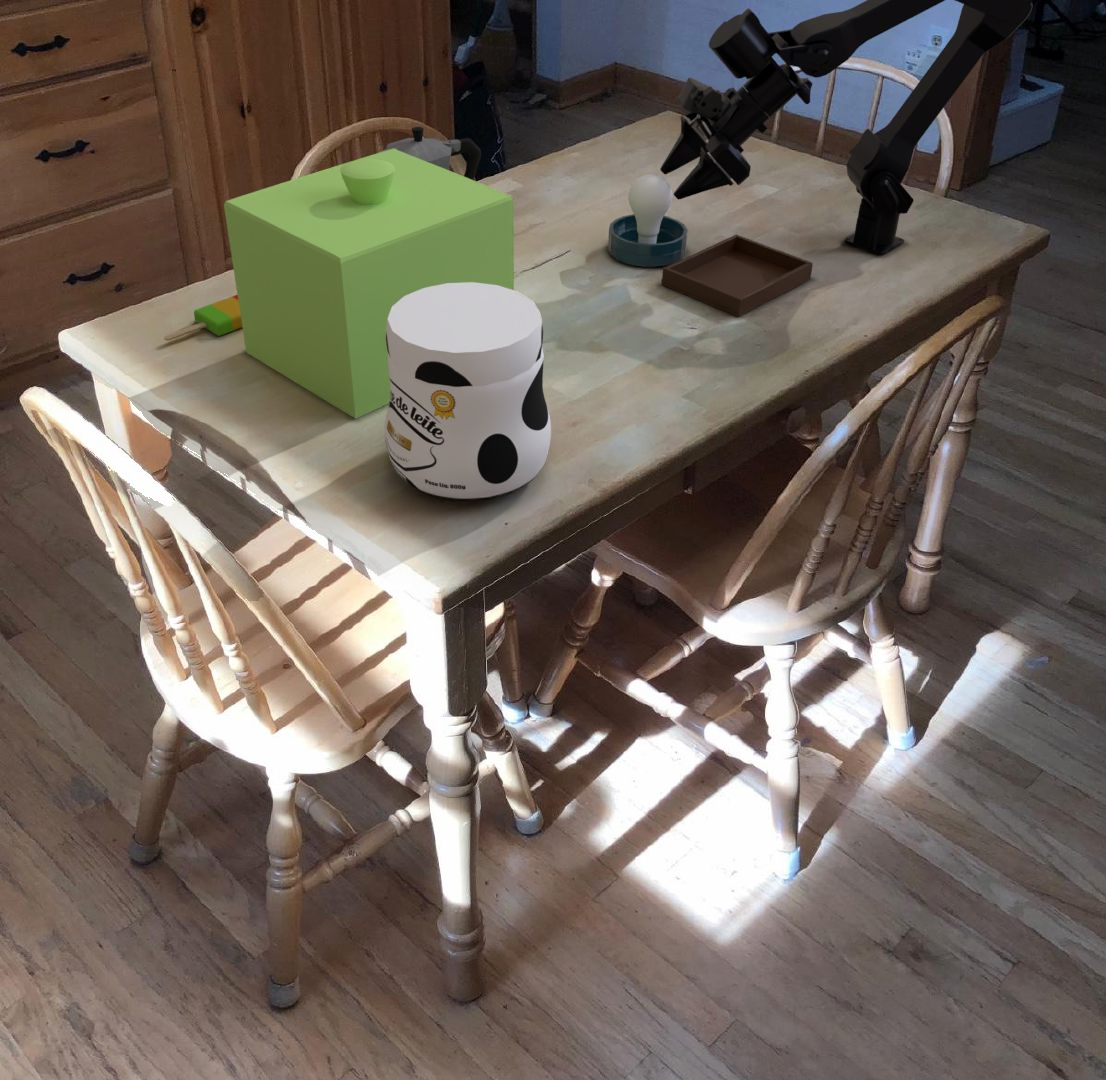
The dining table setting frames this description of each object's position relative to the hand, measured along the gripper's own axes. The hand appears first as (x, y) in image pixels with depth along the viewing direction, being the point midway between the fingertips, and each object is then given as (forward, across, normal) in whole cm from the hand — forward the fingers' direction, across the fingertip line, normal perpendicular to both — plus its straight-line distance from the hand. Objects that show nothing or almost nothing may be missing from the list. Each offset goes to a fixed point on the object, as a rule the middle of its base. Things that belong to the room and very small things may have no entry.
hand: (668, 184), depth 169 cm
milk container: (+30, +52, -15) cm, 62 cm away
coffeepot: (+31, -2, -16) cm, 35 cm away
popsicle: (+50, +17, -36) cm, 64 cm away
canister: (+36, +25, -21) cm, 49 cm away
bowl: (+9, 0, +5) cm, 10 cm away
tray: (+1, +11, +13) cm, 17 cm away
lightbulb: (+9, 0, +5) cm, 10 cm away
